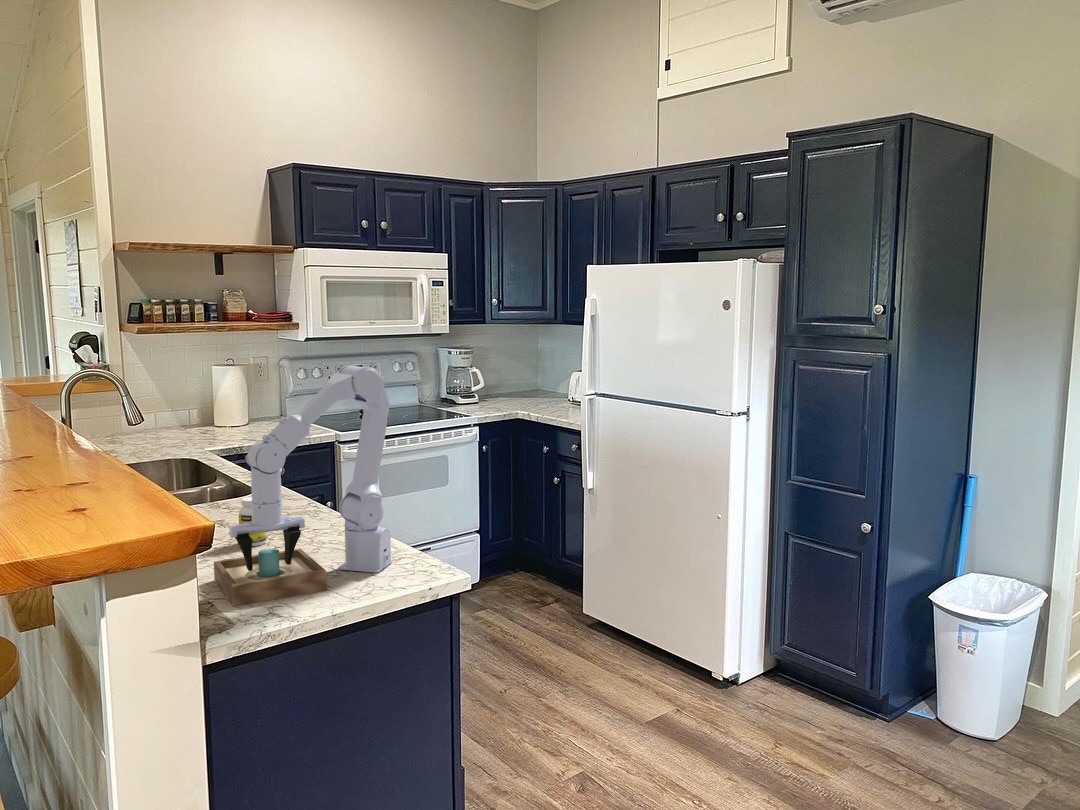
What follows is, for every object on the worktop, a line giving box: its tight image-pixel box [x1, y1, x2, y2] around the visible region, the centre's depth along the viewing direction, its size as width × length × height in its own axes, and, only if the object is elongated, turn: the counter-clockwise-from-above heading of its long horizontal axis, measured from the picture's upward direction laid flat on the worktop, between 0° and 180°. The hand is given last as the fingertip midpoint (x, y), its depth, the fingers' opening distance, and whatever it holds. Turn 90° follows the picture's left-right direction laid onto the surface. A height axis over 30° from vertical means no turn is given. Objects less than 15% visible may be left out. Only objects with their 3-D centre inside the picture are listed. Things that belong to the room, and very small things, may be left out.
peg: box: [257, 548, 280, 577], centre depth 168 cm, size 4×4×7 cm
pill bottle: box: [238, 496, 267, 547], centre depth 197 cm, size 6×6×11 cm
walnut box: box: [213, 548, 328, 607], centre depth 168 cm, size 18×18×4 cm
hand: (269, 566), depth 168 cm, fingers open, 7 cm apart
